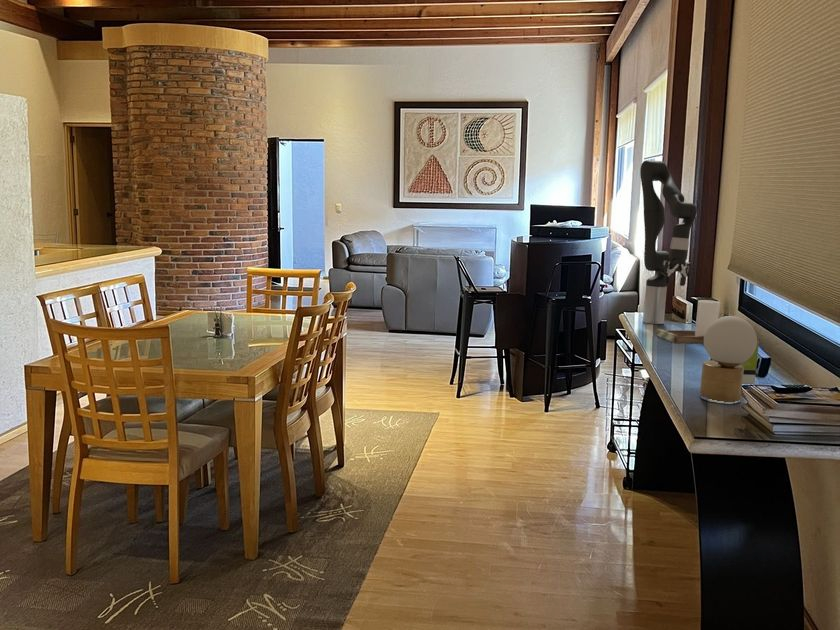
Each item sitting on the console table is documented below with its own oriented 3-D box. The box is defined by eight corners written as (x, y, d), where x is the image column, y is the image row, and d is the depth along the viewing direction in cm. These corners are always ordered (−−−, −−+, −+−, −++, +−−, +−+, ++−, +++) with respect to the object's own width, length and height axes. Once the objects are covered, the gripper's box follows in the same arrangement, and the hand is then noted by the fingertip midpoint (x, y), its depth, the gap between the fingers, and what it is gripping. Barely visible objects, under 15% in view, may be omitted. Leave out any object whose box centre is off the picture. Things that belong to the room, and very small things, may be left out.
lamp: (759, 409, 222) (769, 321, 219) (710, 408, 221) (719, 319, 217) (734, 394, 237) (742, 312, 233) (688, 394, 236) (696, 311, 232)
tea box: (707, 374, 265) (711, 330, 262) (737, 375, 264) (742, 331, 262) (723, 385, 250) (727, 339, 247) (755, 386, 249) (760, 340, 247)
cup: (712, 338, 333) (716, 300, 331) (717, 341, 325) (721, 303, 323) (692, 337, 334) (696, 299, 332) (697, 340, 326) (701, 302, 323)
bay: (656, 335, 334) (657, 328, 333) (708, 336, 338) (709, 329, 338) (673, 342, 319) (674, 335, 319) (728, 342, 324) (729, 335, 323)
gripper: (686, 248, 353) (681, 285, 355) (660, 246, 347) (655, 283, 349) (697, 250, 346) (692, 287, 348) (671, 247, 340) (666, 285, 342)
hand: (674, 285), depth 348 cm, fingers open, 8 cm apart
